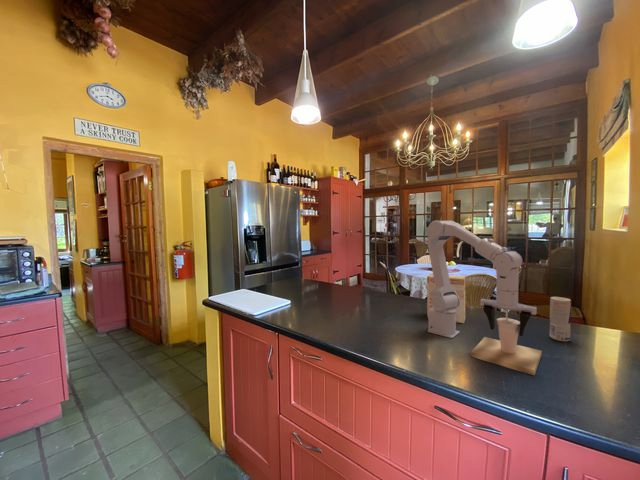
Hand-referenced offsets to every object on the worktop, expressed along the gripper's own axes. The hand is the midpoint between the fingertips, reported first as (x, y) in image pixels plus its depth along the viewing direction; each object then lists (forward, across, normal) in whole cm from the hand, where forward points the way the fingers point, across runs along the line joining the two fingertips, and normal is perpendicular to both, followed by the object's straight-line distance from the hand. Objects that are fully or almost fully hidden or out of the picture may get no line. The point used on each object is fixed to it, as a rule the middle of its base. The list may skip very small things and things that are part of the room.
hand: (506, 331), depth 85 cm
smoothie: (+7, 0, -1) cm, 7 cm away
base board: (+8, 0, 0) cm, 8 cm away
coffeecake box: (+8, +27, -23) cm, 36 cm away
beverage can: (+8, -11, -28) cm, 31 cm away
